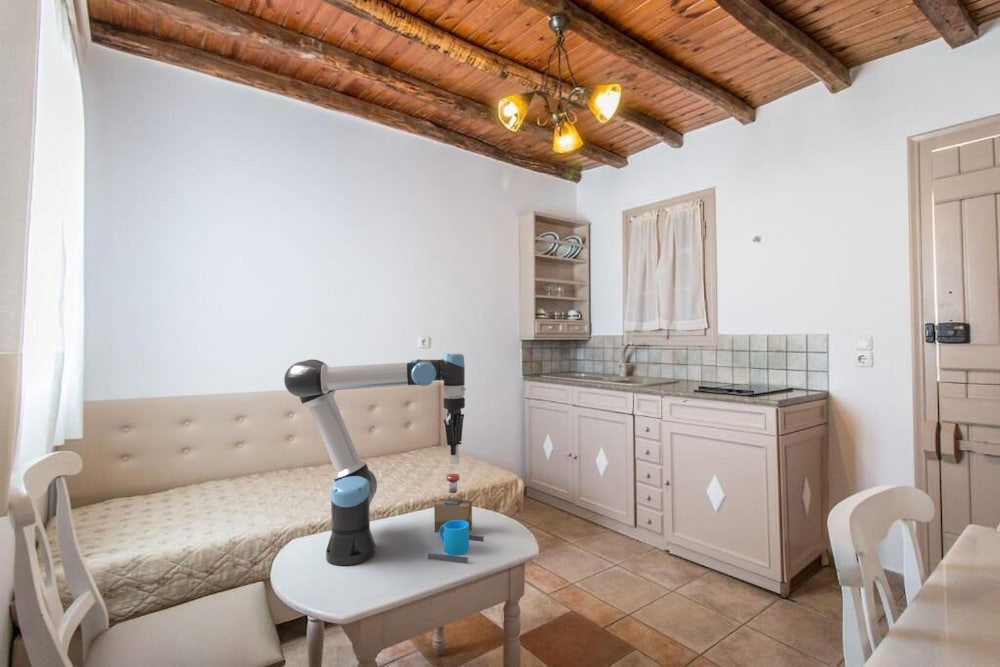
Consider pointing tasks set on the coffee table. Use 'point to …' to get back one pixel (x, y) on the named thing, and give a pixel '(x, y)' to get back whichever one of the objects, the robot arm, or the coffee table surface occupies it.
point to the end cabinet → (452, 512)
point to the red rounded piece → (452, 482)
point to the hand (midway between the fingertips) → (454, 463)
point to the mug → (455, 537)
